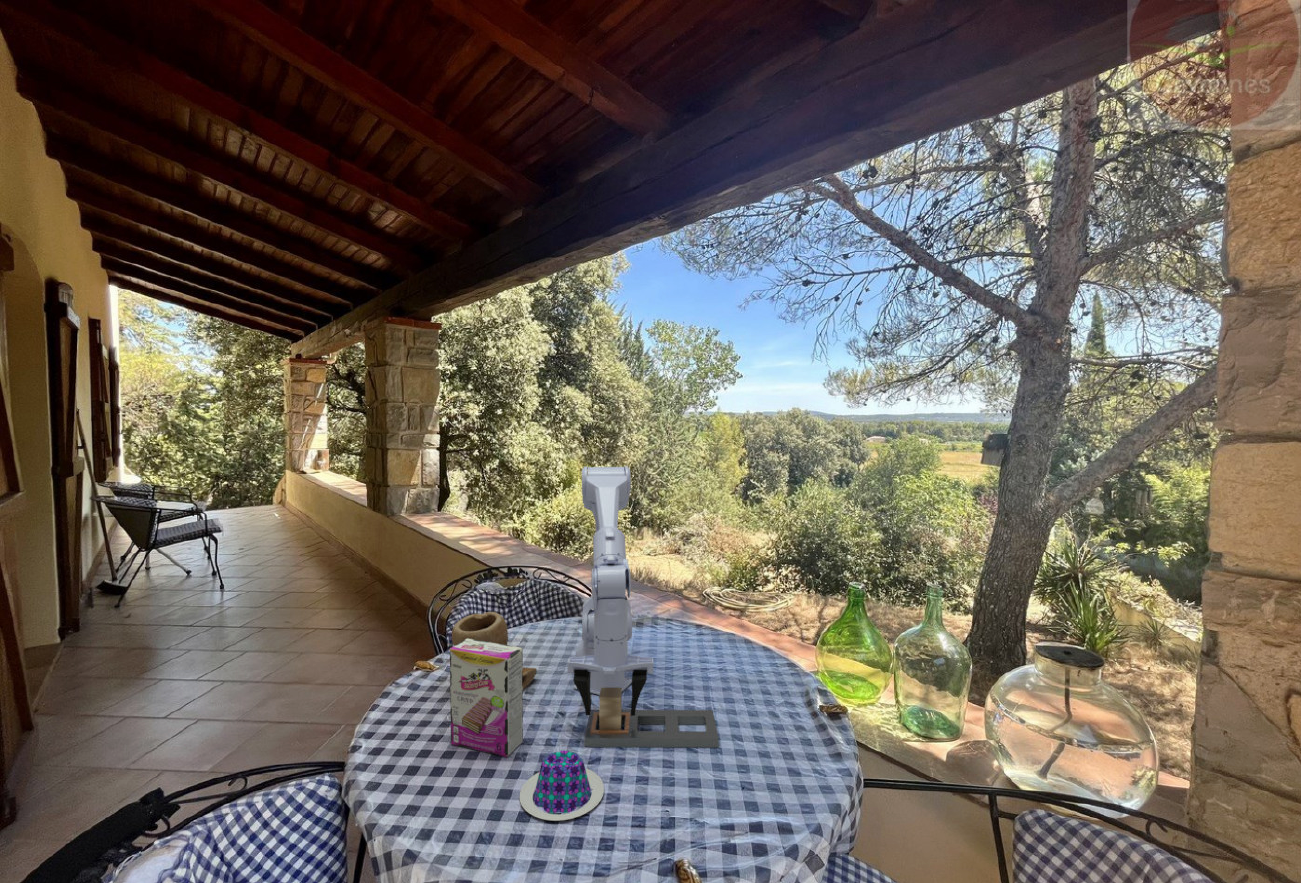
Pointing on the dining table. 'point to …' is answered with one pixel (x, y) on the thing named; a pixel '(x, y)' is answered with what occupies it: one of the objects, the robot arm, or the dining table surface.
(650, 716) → the gray peg hole board
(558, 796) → the pudding
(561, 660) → the dining table surface
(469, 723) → the candy bar box
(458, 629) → the stone cup
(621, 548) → the robot arm
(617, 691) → the birch peg
